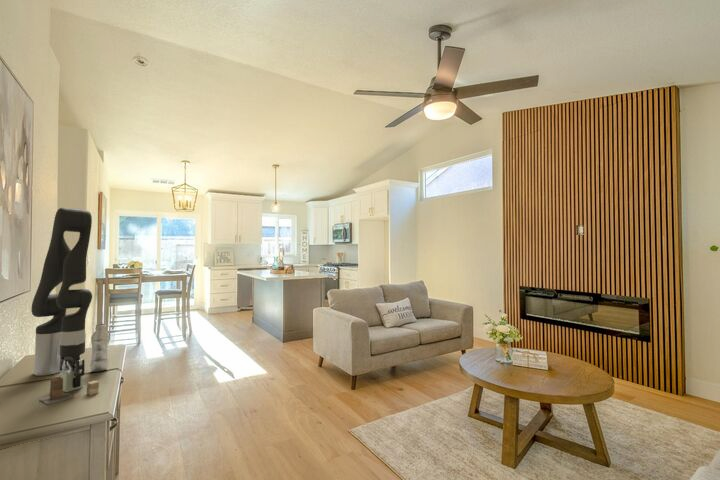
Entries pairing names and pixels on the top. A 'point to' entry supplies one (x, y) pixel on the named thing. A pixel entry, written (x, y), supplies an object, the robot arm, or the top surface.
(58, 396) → the walnut post
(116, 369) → the top surface
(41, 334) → the robot arm
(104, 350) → the plastic bottle
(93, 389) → the maple post
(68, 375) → the pale green eraser block
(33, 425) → the top surface
